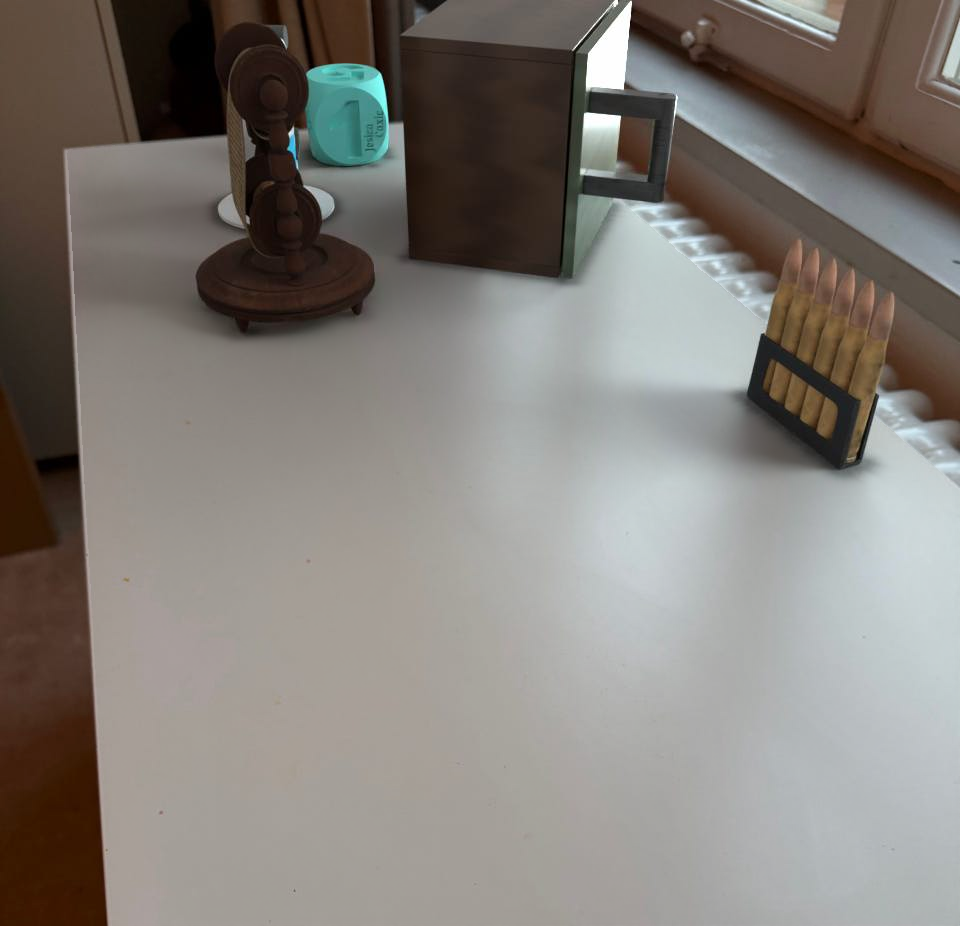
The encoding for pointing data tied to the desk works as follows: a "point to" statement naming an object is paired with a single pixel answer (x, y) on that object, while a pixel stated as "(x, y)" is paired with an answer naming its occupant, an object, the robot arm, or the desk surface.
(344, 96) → the decorative dice
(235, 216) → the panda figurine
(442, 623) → the desk surface
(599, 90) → the cupboard door
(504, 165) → the cupboard
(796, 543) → the desk surface
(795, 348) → the ammunition clip
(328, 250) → the dark brown piece
